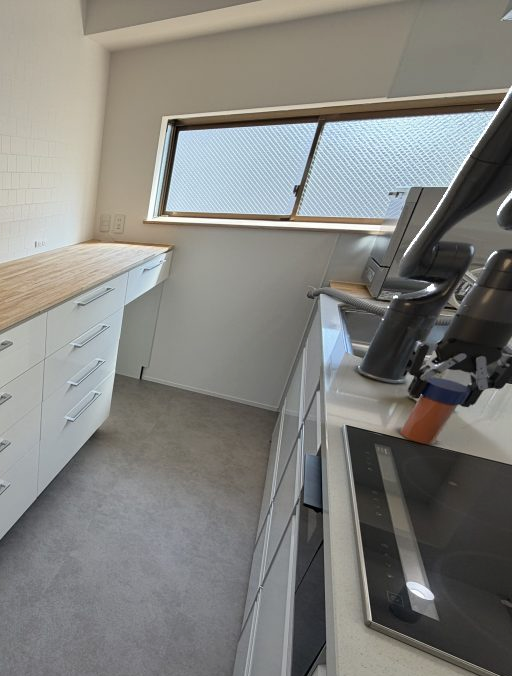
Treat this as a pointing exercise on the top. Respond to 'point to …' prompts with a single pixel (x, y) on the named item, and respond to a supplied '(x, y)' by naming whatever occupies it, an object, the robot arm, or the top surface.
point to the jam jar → (427, 420)
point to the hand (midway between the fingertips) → (437, 400)
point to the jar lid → (446, 391)
